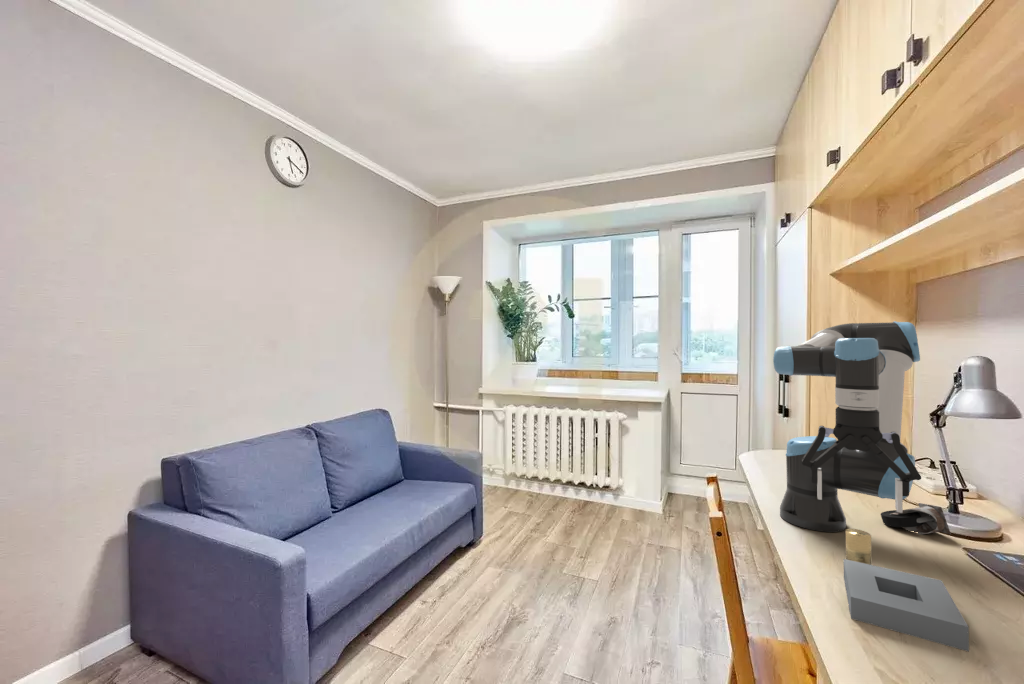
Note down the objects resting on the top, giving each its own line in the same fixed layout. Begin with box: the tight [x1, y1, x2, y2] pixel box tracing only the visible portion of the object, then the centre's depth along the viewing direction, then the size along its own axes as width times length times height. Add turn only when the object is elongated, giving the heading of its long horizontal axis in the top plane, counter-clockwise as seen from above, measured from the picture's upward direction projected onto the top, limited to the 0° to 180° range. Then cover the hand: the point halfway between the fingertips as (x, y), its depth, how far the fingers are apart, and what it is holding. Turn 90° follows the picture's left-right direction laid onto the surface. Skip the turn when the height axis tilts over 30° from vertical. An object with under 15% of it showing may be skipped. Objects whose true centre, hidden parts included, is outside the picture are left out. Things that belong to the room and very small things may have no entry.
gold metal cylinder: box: [845, 528, 873, 565], centre depth 94 cm, size 4×4×8 cm
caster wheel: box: [880, 502, 952, 535], centre depth 113 cm, size 7×11×10 cm
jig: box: [842, 558, 970, 652], centre depth 80 cm, size 16×15×4 cm
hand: (857, 504), depth 94 cm, fingers open, 13 cm apart
